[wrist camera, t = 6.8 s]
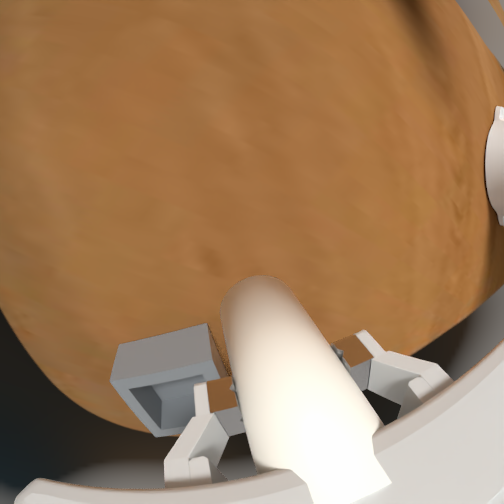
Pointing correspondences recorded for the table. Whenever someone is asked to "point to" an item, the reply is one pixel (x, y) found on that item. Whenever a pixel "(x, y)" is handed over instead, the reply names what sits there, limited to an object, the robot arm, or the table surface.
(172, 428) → the sleeve holder
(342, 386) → the cream peg
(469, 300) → the table surface
